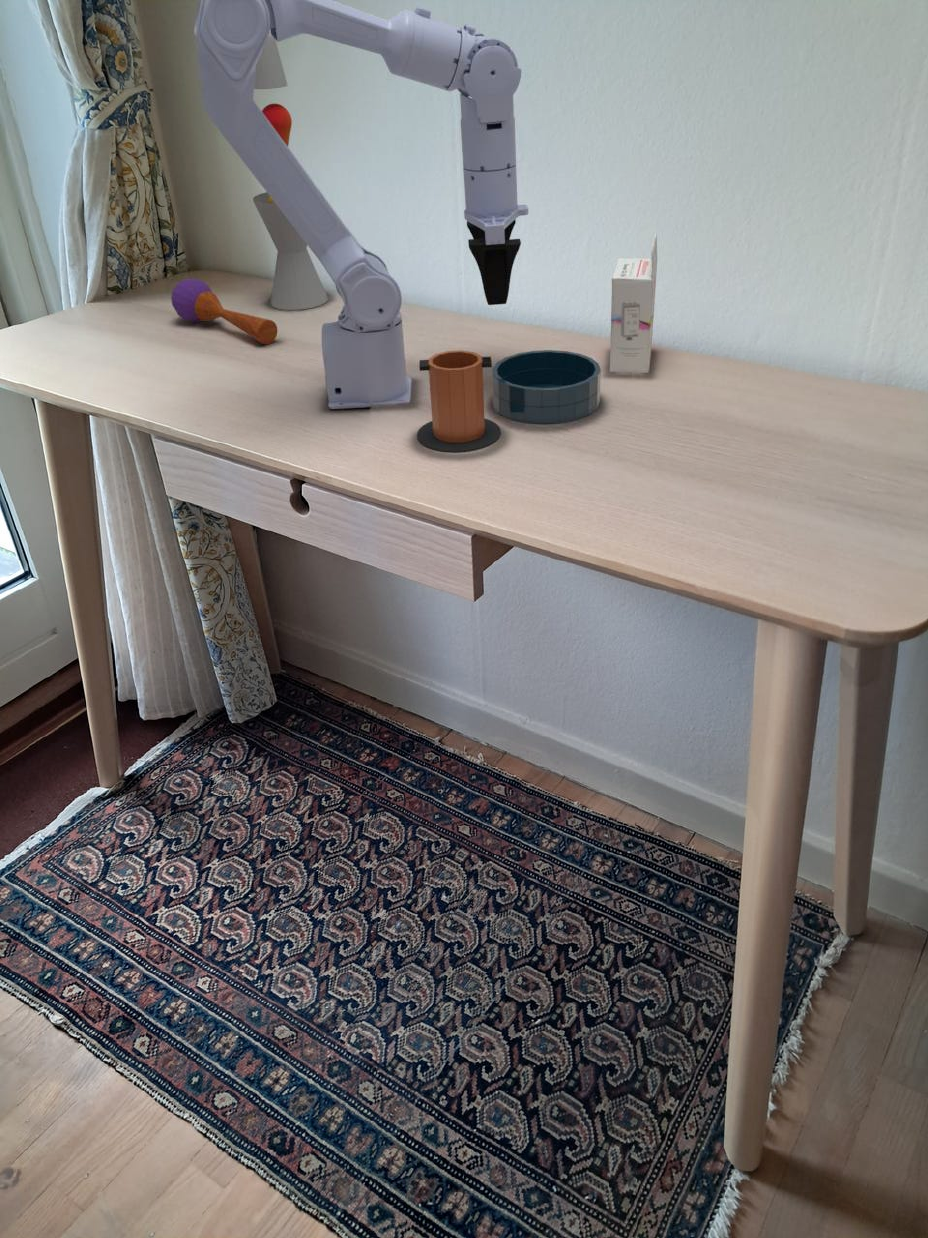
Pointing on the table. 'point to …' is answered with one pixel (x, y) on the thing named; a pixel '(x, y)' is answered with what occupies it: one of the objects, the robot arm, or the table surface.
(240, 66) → the robot arm
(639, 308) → the ink cartridge box
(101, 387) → the table surface
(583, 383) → the blue shallow round container
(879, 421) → the table surface
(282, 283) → the lava lamp
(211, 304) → the maraca
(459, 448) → the disc
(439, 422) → the small pot
